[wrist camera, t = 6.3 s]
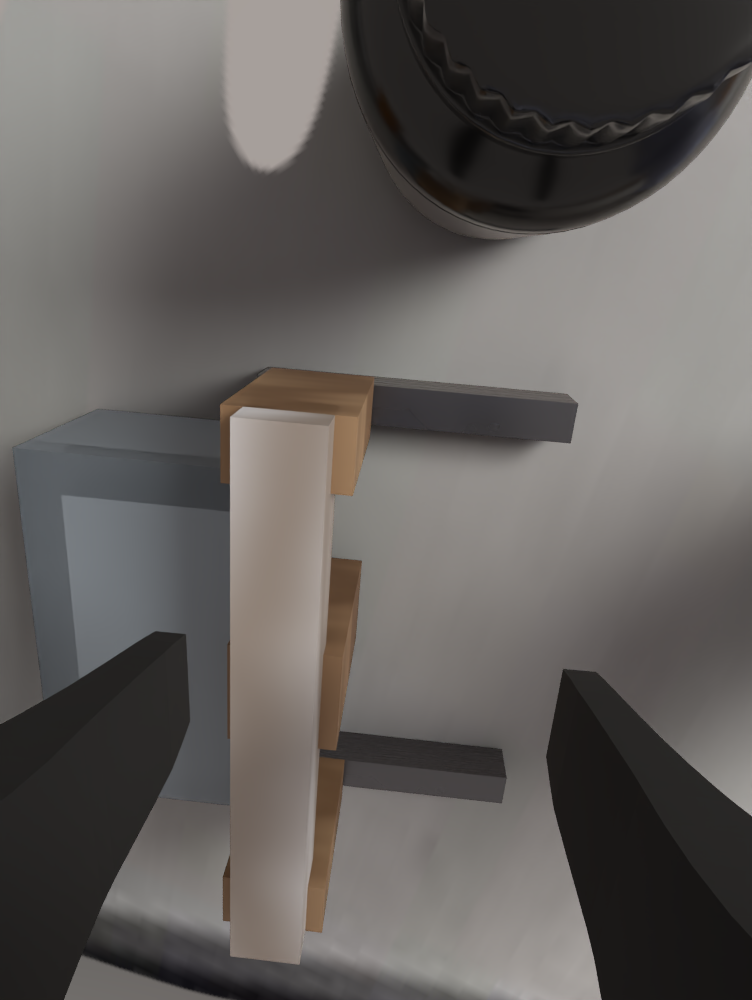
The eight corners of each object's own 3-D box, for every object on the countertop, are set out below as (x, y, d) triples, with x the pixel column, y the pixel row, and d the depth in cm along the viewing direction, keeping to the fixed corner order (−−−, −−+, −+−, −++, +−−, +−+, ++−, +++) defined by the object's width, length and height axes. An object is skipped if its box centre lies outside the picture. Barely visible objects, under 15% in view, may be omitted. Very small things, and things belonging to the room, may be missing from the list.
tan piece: (376, 371, 20) (353, 428, 13) (344, 777, 25) (316, 966, 18) (279, 362, 20) (205, 414, 13) (268, 769, 25) (212, 954, 18)
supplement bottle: (327, 59, 18) (162, -299, 6) (560, -106, 16) (882, -960, 5) (444, 289, 19) (477, 325, 8) (663, 161, 18) (1071, -9, 7)
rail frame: (567, 393, 20) (578, 403, 19) (497, 773, 26) (501, 803, 24) (268, 366, 21) (257, 374, 19) (260, 747, 26) (251, 774, 24)
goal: (282, 426, 21) (245, 469, 17) (274, 709, 25) (242, 807, 21) (98, 408, 21) (12, 447, 17) (118, 693, 25) (54, 785, 21)
